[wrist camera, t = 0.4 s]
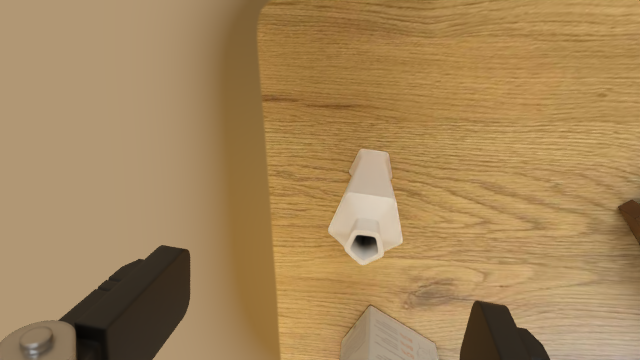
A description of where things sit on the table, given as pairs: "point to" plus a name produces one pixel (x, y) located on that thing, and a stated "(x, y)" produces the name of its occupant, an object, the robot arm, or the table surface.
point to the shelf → (632, 216)
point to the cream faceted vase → (368, 209)
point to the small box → (384, 340)
